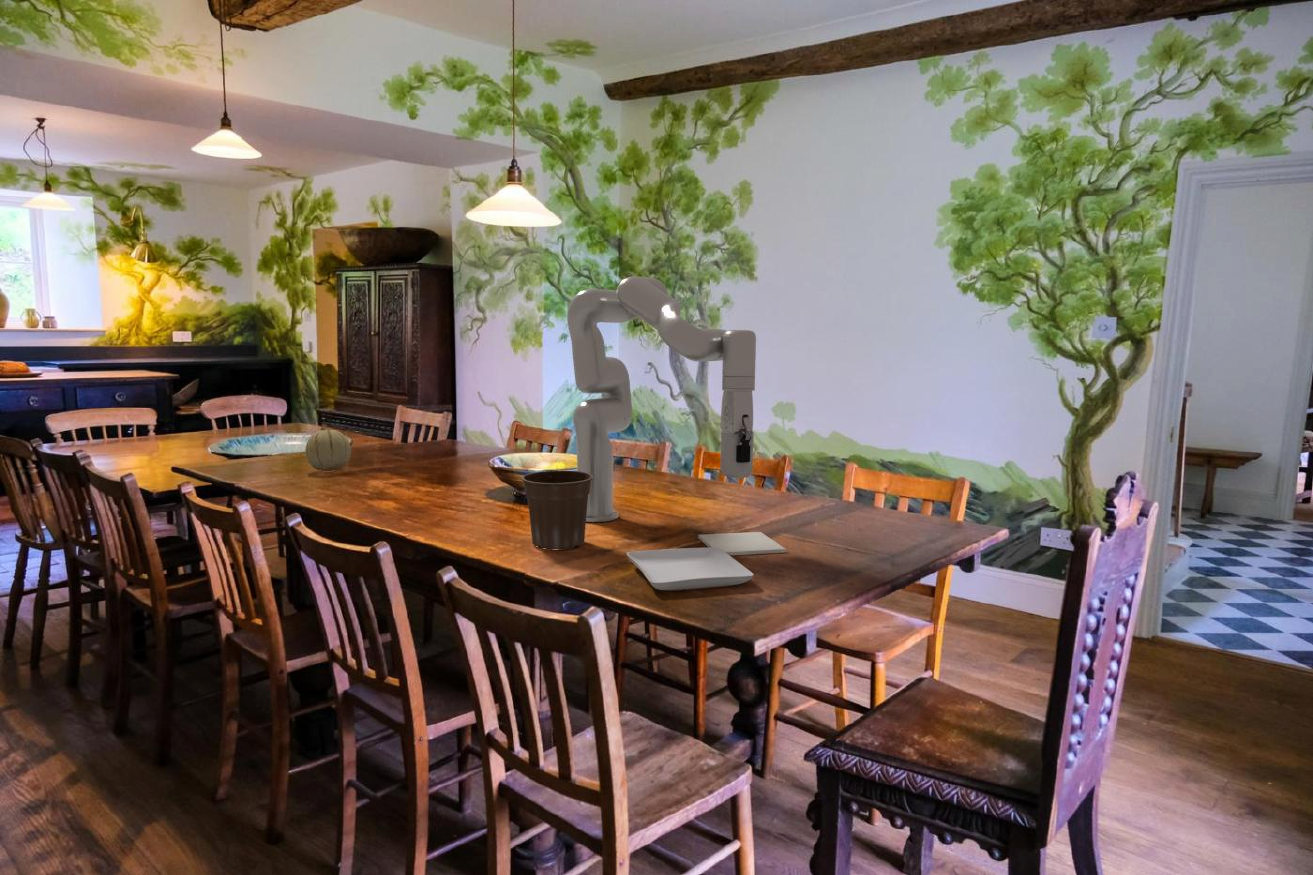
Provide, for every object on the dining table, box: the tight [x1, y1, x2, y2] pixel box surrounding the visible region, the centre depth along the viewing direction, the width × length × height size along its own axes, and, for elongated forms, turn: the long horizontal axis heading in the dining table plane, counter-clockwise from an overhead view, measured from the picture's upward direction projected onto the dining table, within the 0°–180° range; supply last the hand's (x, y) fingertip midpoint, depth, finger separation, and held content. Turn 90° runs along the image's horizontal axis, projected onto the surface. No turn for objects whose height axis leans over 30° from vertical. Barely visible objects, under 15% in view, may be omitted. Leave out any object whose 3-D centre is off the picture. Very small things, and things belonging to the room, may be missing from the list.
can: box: [720, 425, 755, 479], centre depth 189 cm, size 8×8×12 cm
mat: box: [697, 531, 787, 556], centre depth 191 cm, size 16×16×1 cm
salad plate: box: [626, 547, 754, 591], centre depth 166 cm, size 21×21×3 cm
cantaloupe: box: [304, 427, 352, 472], centre depth 277 cm, size 15×15×15 cm
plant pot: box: [521, 469, 593, 550], centre depth 188 cm, size 16×16×16 cm
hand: (737, 459), depth 189 cm, fingers closed on can, 7 cm apart
